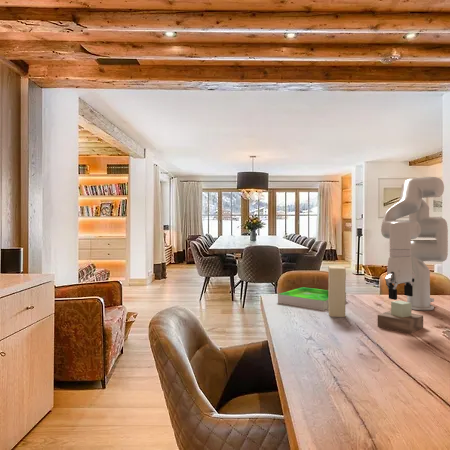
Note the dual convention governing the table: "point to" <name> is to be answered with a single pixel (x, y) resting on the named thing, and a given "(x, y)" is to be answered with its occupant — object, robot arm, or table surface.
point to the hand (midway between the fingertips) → (400, 297)
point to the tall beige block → (336, 291)
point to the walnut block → (400, 322)
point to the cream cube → (401, 308)
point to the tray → (306, 298)
